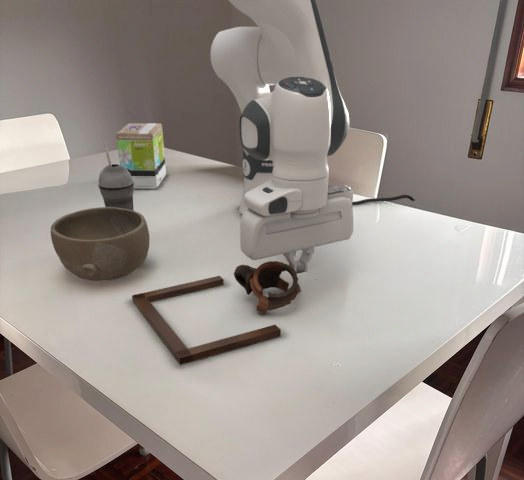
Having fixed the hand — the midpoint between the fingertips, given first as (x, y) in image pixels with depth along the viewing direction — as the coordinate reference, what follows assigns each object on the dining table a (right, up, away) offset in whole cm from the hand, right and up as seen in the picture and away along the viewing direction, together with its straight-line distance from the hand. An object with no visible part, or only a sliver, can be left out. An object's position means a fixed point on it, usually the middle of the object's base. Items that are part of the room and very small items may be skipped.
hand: (297, 272), depth 97 cm
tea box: (-39, +34, +64) cm, 82 cm away
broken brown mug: (-5, -5, 0) cm, 7 cm away
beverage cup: (-36, +11, +27) cm, 46 cm away
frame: (-16, -8, -5) cm, 18 cm away
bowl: (-36, +2, +11) cm, 38 cm away
